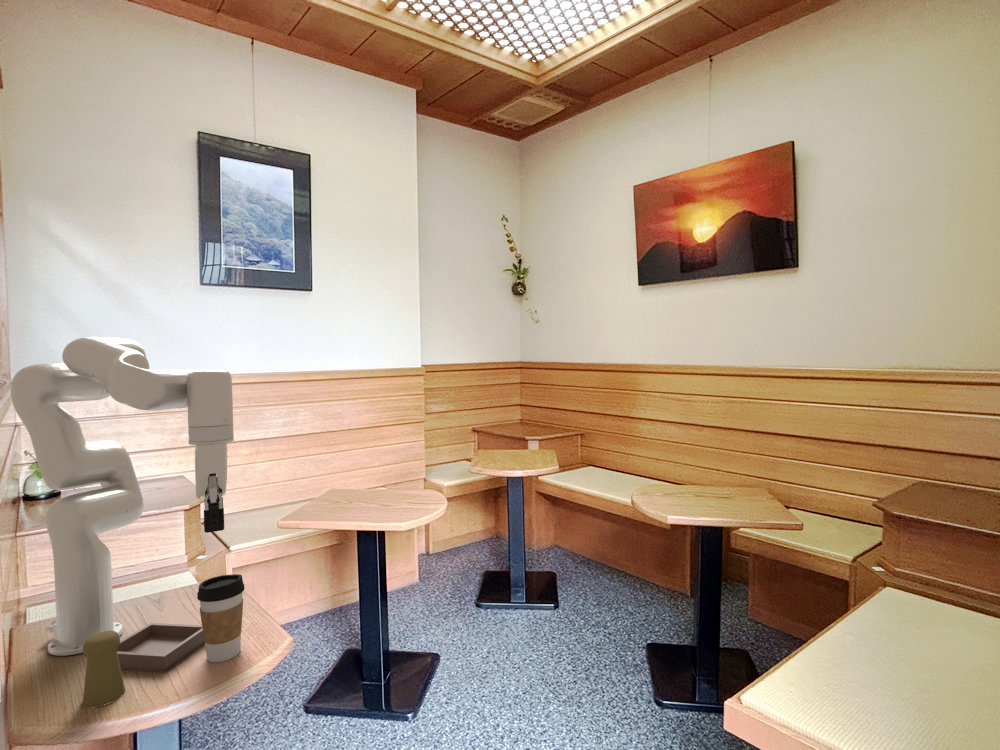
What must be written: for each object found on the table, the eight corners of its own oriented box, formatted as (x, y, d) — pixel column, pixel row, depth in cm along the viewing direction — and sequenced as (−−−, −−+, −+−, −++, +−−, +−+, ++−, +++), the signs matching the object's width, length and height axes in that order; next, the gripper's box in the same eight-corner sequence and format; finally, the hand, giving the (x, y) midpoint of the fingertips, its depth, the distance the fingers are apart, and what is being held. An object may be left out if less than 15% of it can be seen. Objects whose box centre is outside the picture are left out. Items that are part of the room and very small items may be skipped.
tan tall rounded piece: (121, 682, 97) (118, 622, 96) (128, 695, 92) (126, 633, 92) (79, 698, 92) (76, 635, 92) (85, 712, 88) (82, 647, 88)
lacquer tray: (101, 668, 102) (100, 652, 102) (151, 636, 113) (151, 622, 113) (165, 672, 99) (164, 656, 99) (210, 639, 111) (209, 625, 111)
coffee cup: (227, 667, 100) (224, 589, 100) (189, 664, 102) (186, 587, 102) (256, 644, 108) (253, 572, 108) (220, 642, 110) (217, 570, 110)
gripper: (190, 432, 106) (193, 516, 106) (186, 441, 91) (189, 540, 91) (232, 429, 109) (234, 511, 110) (235, 437, 94) (238, 533, 94)
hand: (214, 524), depth 100 cm, fingers open, 9 cm apart
